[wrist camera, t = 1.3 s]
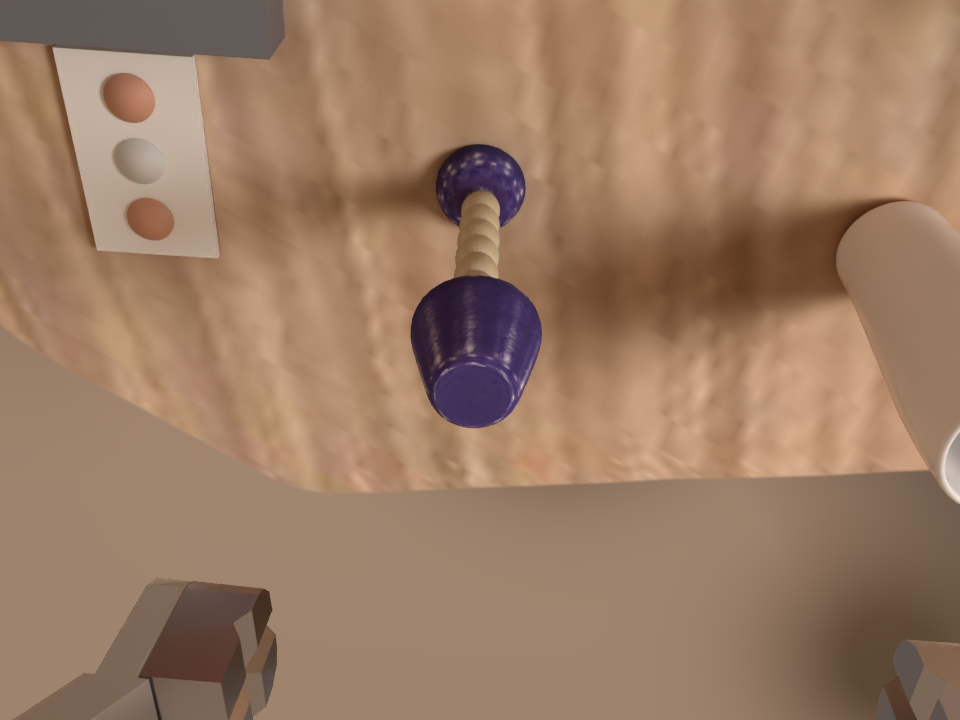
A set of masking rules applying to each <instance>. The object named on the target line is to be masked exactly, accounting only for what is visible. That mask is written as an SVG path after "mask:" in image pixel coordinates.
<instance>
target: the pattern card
mask: <svg viewBox="0 0 960 720" xmlns="http://www.w3.org/2000/svg"><path fill="white" fill-rule="evenodd" d="M52 48H53V53H54V57H55V62H56V66H57V71H58V75H59V80H60V84H61V89H62V94H63V98H64V103H65V107H66V112H67V116H68V121H69V125H70V130H71V134H72V139H73V143H74V148H75V152H76V157H77V162H78V166H79V171H80V175H81V180H82V184H83V189H84V193H85V198H86V202H87V207H88V211H89V216H90V221H91V225H92V230H93V234H94V239H95V243H96V248H97V251H112V252H127V253H142V254H157V255H172V256H187V257H203V258H218V257H219V255H220V252H219V244H218V236H217V228H216V220H215V213H214V205H213V197H212V189H211V181H210V173H209V165H208V158H207V150H206V142H205V134H204V126H203V118H202V111H201V103H200V95H199V87H198V79H197V71H196V63H195V56H194V54H183V53H168V52H154V51H140V50H126V49H111V48H97V47H83V46H69V45H55V46H54V47H52Z"/></svg>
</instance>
